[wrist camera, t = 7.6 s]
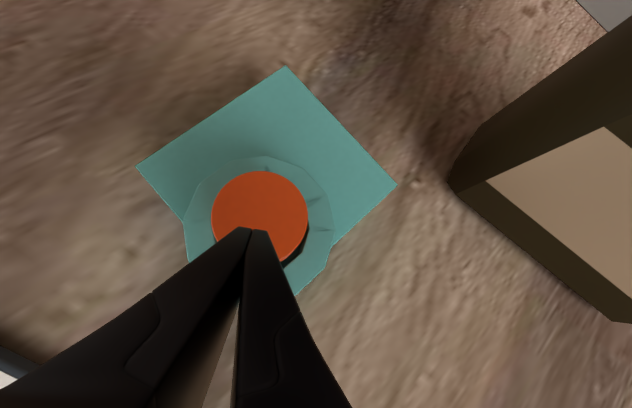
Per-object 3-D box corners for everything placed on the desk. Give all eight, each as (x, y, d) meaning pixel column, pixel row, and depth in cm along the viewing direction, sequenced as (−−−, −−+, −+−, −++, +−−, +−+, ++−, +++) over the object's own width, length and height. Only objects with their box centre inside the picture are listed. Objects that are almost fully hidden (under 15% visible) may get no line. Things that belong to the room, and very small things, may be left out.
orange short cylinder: (256, 284, 13) (254, 285, 11) (203, 223, 14) (189, 210, 11) (317, 230, 14) (327, 220, 12) (266, 174, 15) (266, 152, 12)
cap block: (256, 319, 18) (251, 337, 12) (151, 195, 19) (101, 158, 13) (377, 206, 21) (419, 177, 15) (282, 102, 22) (287, 38, 16)
